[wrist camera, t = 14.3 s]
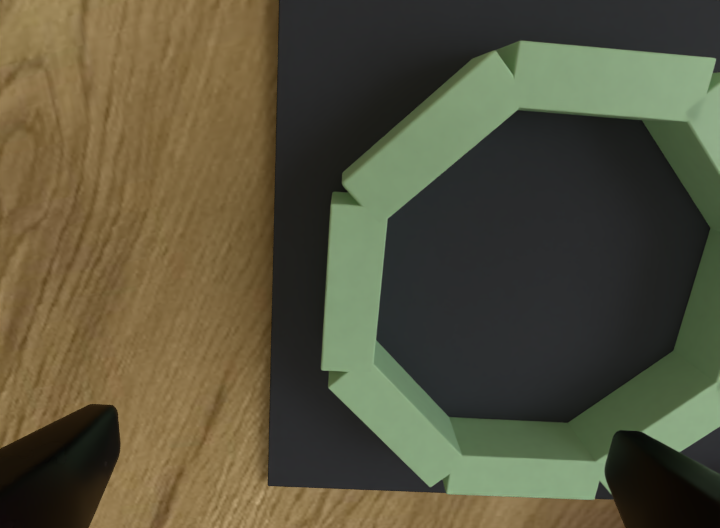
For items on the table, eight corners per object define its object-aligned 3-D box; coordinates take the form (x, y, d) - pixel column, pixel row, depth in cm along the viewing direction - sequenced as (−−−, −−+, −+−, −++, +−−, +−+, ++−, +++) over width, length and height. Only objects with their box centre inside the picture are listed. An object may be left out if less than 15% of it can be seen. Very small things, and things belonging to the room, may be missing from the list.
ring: (316, 446, 20) (313, 489, 18) (341, 36, 16) (341, 24, 13) (678, 462, 21) (719, 505, 19) (807, 77, 16) (881, 72, 14)
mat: (268, 479, 21) (267, 486, 21) (281, -40, 15) (280, -43, 15) (706, 497, 22) (712, 503, 22) (879, 18, 16) (892, 16, 16)
